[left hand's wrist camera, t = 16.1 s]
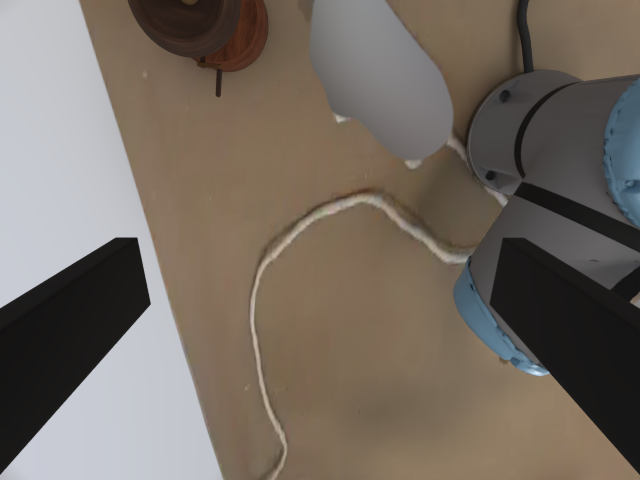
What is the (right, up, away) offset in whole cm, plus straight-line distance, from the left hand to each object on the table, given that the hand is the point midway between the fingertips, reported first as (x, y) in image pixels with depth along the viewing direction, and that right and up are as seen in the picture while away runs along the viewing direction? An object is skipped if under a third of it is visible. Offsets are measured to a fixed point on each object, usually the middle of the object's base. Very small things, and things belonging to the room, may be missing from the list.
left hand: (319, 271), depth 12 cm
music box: (-11, +26, +28) cm, 40 cm away
